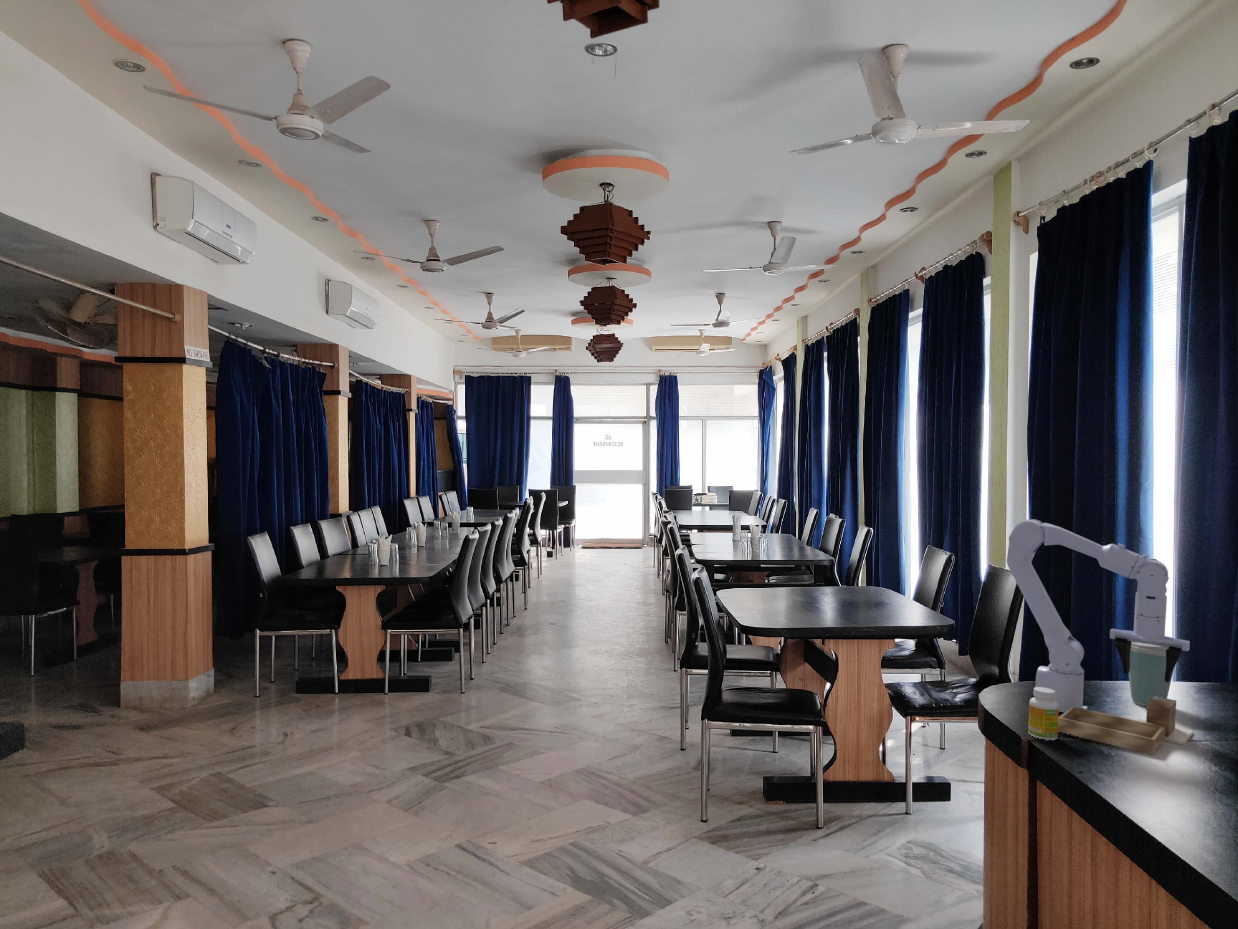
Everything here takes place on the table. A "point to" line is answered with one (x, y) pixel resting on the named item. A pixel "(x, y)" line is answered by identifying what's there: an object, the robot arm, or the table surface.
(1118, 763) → the table surface
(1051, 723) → the supplement bottle
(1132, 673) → the disposable coffee cup
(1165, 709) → the block
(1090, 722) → the frame
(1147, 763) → the table surface
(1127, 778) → the table surface
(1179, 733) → the pad
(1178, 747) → the table surface
